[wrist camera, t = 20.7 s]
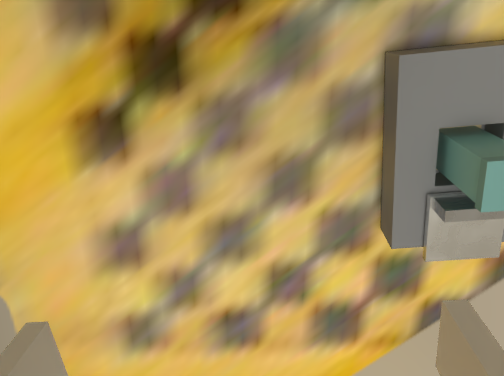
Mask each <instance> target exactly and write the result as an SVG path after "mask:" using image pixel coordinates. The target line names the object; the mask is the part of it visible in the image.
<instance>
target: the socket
mask: <svg viewBox="0 0 504 376" xmlns="http://www.w3.org/2000/svg"><path fill="white" fill-rule="evenodd" d="M466 126H477V127H479V128H481V129H483V130H485V131H487V132H489V133H491V134H493V135H495V136H497V137H499V138H501V139H503V140H504V40H499V41H489V42H479V43H470V44H460V45H450V46H440V47H430V48H420V49H410V50H400V51H390V52H386V59H385V96H384V132H383V168H382V204H381V230H382V232H383V234H384V236H385V237H386V239H387V241H388V243H389V245H390V247H391V249H396V248H412V247H424V234H425V221H426V208H427V195H428V194H436V193H450V192H462V191H461V190H460V189H459V188H458V187H457V186H455V185H454V184H453V183H452V182H451V181H450V180H449V179H447V178H446V177H445V176H444V175H443V174H442V173H441V172H439V171H438V170H437V169H436V163H437V151H438V139H439V129H442V128H454V127H466ZM502 242H504V229H503V236H502Z"/></svg>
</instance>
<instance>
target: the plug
mask: <svg viewBox="0 0 504 376" xmlns="http://www.w3.org/2000/svg"><path fill="white" fill-rule="evenodd" d="M436 169H437V170H438V171H439V172H441V173H442V174H443V175H444V176H445V177H446V178H447V179H449V180H450V181H451V182H452V183H453V184H454V185H455V186H457V187H458V188H459V189H460V190H461V191H462V192H463V193H465V194H466V195H467V196H468V197H469V198H470V199H471V200H473V201H474V202H475V208H476V209H477V210H478V211H480V212H495V211H504V140H503V139H501V138H499V137H497V136H495V135H493V134H491V133H489V132H487V131H485V130H483V129H481V128H479V127H477V126H466V127H454V128H442V129H439V139H438V151H437V163H436Z"/></svg>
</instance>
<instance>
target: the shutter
mask: <svg viewBox="0 0 504 376" xmlns="http://www.w3.org/2000/svg"><path fill="white" fill-rule="evenodd" d="M503 229H504V211H495V212H480V211H478V210H477V209H476V208H475V202H474V201H473V200H471V199H470V198H469V197H468V196H467V195H466V194H465V193H463V192H450V193H436V194H428V195H427V208H426V221H425V234H424V247H423V259H424V260H425V262H427V261H444V260H460V259H477V258H494V257H499V254H500V248H501V242H502V236H503Z"/></svg>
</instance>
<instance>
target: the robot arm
mask: <svg viewBox="0 0 504 376" xmlns="http://www.w3.org/2000/svg"><path fill="white" fill-rule="evenodd" d="M436 368H437V370H438V372H439V374H440V376H504V350H503V349H502V347H501V346H500V345H499V343H498V342H497V340H496V339H495V338H494V336H493V335H492V333H491V332H490V331H489V329H488V328H487V326H486V325H485V324H484V322H483V321H482V320H481V318H480V317H479V315H478V314H477V312H476V311H475V310H474V308H473V307H472V305H471V304H470V303H469V301H468V300H449V301H442V309H441V318H440V328H439V338H438V348H437V357H436ZM0 376H68V374H67V372H66V369H65V366H64V364H63V361H62V358H61V356H60V353H59V350H58V348H57V345H56V342H55V340H54V337H53V335H52V332H51V329H50V327H49V324H48V322H31V323H26V324H25V325H24V326H23V328H22V329H21V330H20V331H19V333H18V334H17V335H16V336H15V337H14V339H13V340H12V341H11V343H10V344H9V345H8V346H7V347H6V349H5V350H4V351H3V352H2V353H1V355H0Z"/></svg>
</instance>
